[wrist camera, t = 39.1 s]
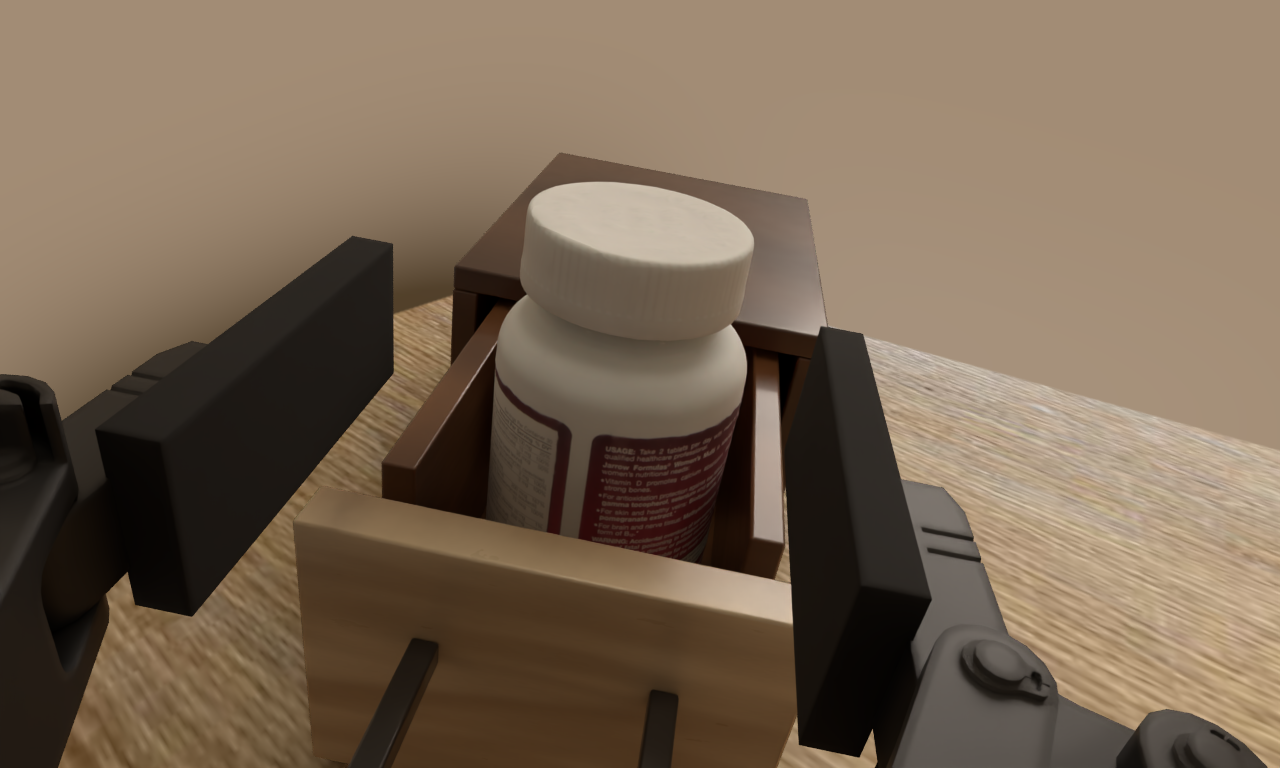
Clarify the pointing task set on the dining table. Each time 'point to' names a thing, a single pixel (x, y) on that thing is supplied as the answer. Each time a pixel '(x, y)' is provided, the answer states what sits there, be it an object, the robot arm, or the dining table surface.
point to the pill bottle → (620, 368)
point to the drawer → (542, 611)
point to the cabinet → (781, 226)
